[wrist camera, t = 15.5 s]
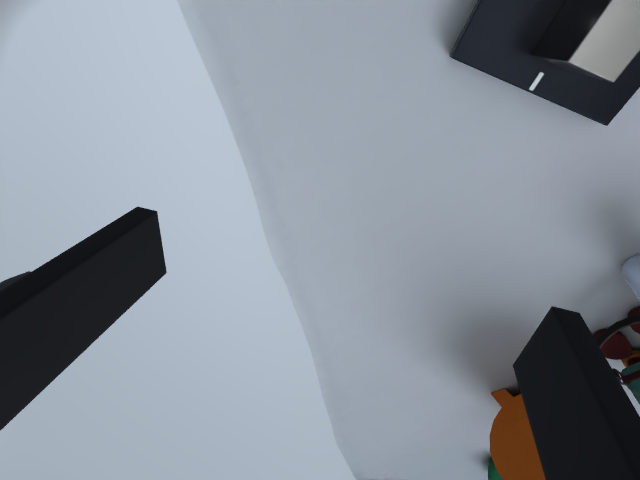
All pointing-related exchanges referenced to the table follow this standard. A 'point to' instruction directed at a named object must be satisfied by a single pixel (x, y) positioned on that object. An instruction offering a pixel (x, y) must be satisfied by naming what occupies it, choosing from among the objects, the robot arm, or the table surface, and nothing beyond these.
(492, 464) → the gaming controller
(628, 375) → the binoculars
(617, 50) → the red-capped silver block
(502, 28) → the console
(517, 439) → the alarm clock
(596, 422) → the robot arm
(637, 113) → the table surface
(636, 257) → the milkshake
